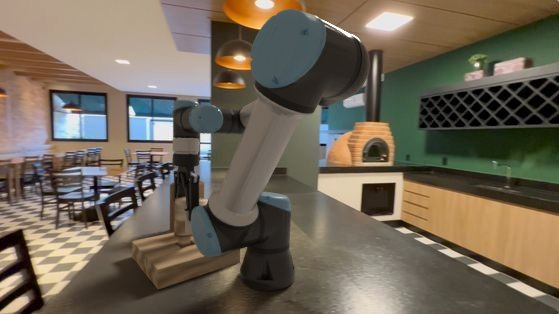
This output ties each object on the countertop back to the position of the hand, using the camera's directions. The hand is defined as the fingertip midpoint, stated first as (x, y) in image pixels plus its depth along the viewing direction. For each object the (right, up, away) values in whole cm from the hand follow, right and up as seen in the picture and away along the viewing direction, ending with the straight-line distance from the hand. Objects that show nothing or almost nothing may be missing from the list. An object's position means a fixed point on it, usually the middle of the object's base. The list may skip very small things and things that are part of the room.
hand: (185, 228), depth 83 cm
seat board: (0, -10, 0) cm, 10 cm away
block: (-8, -8, +26) cm, 28 cm away
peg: (0, -6, 0) cm, 6 cm away
